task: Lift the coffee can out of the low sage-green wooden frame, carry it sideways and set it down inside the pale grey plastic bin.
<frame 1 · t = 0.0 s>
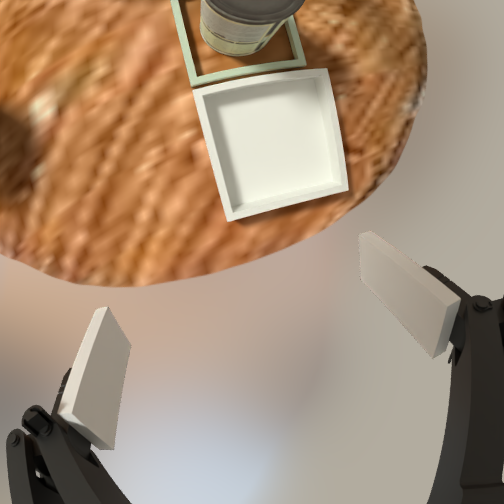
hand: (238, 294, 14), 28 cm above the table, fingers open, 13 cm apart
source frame: (236, 26, 29), on the table
bin: (271, 139, 37), on the table
coffee can: (236, 26, 30), resting in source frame
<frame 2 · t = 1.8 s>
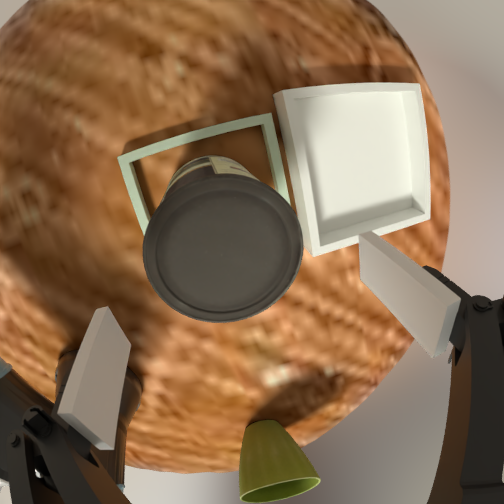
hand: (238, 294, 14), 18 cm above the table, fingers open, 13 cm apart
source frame: (212, 202, 30), on the table
flower pot: (262, 427, 51), on the table
bin: (358, 158, 31), on the table
coffee can: (212, 202, 30), resting in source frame
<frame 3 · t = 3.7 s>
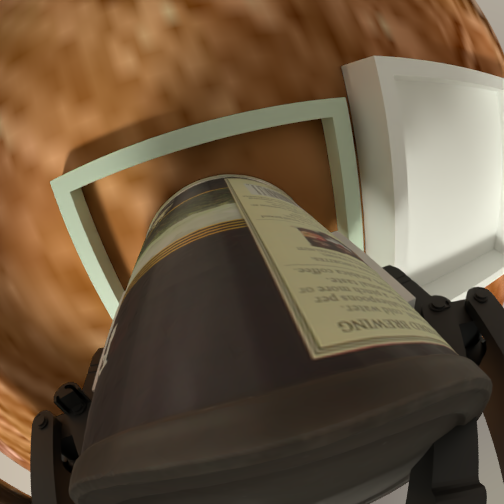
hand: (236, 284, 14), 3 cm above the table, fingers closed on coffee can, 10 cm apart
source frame: (229, 260, 17), on the table
bin: (451, 184, 18), on the table
coffee can: (230, 258, 17), resting in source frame, touching gripper
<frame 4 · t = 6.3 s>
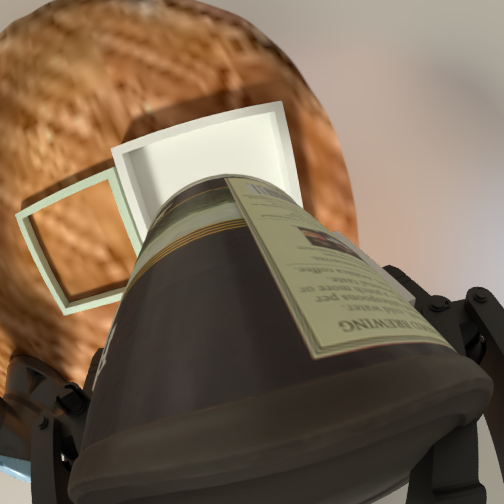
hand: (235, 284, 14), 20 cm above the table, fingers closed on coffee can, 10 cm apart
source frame: (84, 246, 31), on the table
bin: (215, 195, 32), on the table
coffee can: (229, 258, 17), point 17 cm above the table, touching gripper
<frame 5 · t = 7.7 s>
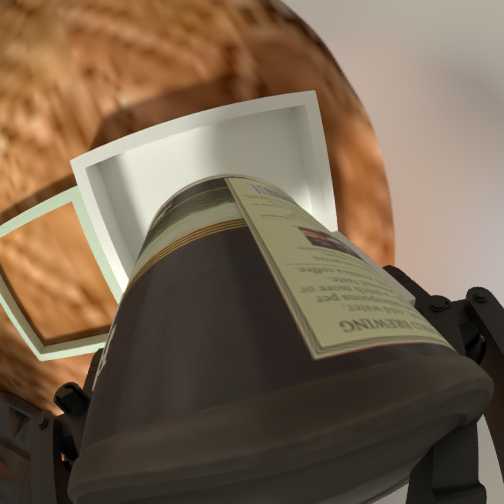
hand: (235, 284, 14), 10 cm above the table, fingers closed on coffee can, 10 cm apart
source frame: (53, 285, 23), on the table
bin: (218, 222, 24), on the table
coffee can: (230, 258, 17), point 7 cm above the table, touching gripper
when the fingers open (6 cm above the table, at t = 9.0 s): coffee can drops 2 cm, resting on bin.
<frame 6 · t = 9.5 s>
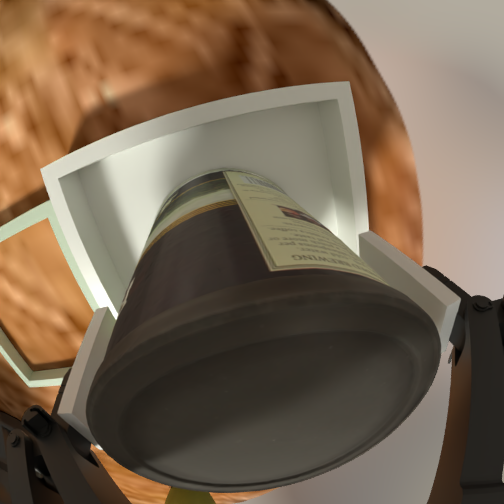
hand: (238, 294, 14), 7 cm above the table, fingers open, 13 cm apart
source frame: (36, 310, 19), on the table
flower pot: (189, 488, 40), on the table
bin: (225, 241, 19), on the table
coffee can: (227, 243, 19), resting on bin
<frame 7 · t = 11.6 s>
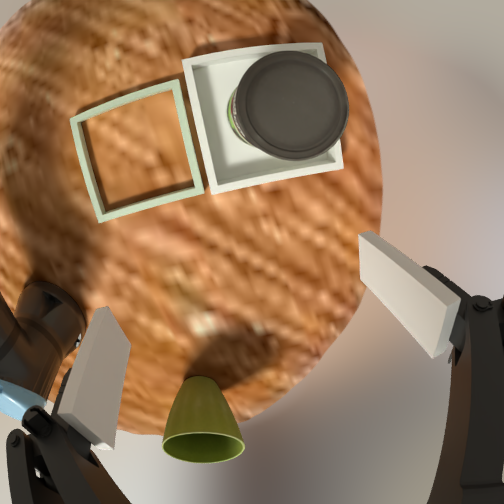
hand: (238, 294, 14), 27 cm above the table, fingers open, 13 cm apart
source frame: (135, 151, 34), on the table
flower pot: (200, 385, 55), on the table
bin: (263, 113, 35), on the table
coffee can: (264, 112, 34), resting on bin
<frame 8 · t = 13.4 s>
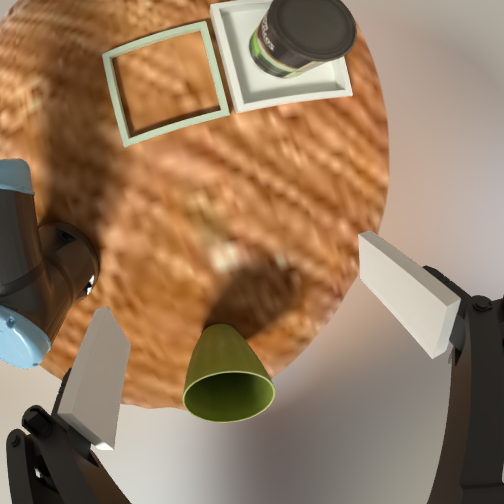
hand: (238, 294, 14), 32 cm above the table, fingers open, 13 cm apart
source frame: (164, 81, 34), on the table
flower pot: (220, 336, 55), on the table
bin: (279, 51, 35), on the table
coffee can: (280, 50, 34), resting on bin
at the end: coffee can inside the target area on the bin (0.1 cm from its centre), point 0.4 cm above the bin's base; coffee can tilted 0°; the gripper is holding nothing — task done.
